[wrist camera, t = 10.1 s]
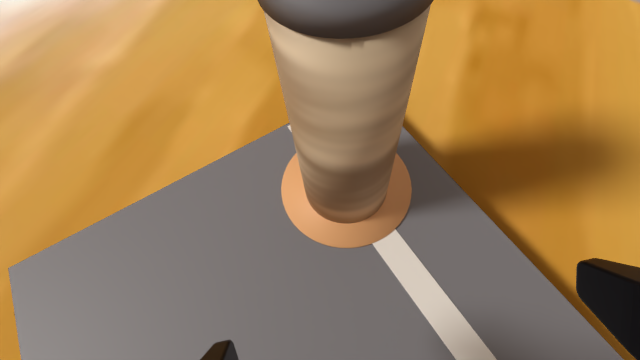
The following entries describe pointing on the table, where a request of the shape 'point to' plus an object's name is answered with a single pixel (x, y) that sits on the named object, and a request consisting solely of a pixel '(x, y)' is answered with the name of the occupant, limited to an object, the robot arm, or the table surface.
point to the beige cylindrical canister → (346, 93)
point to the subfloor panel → (295, 275)
